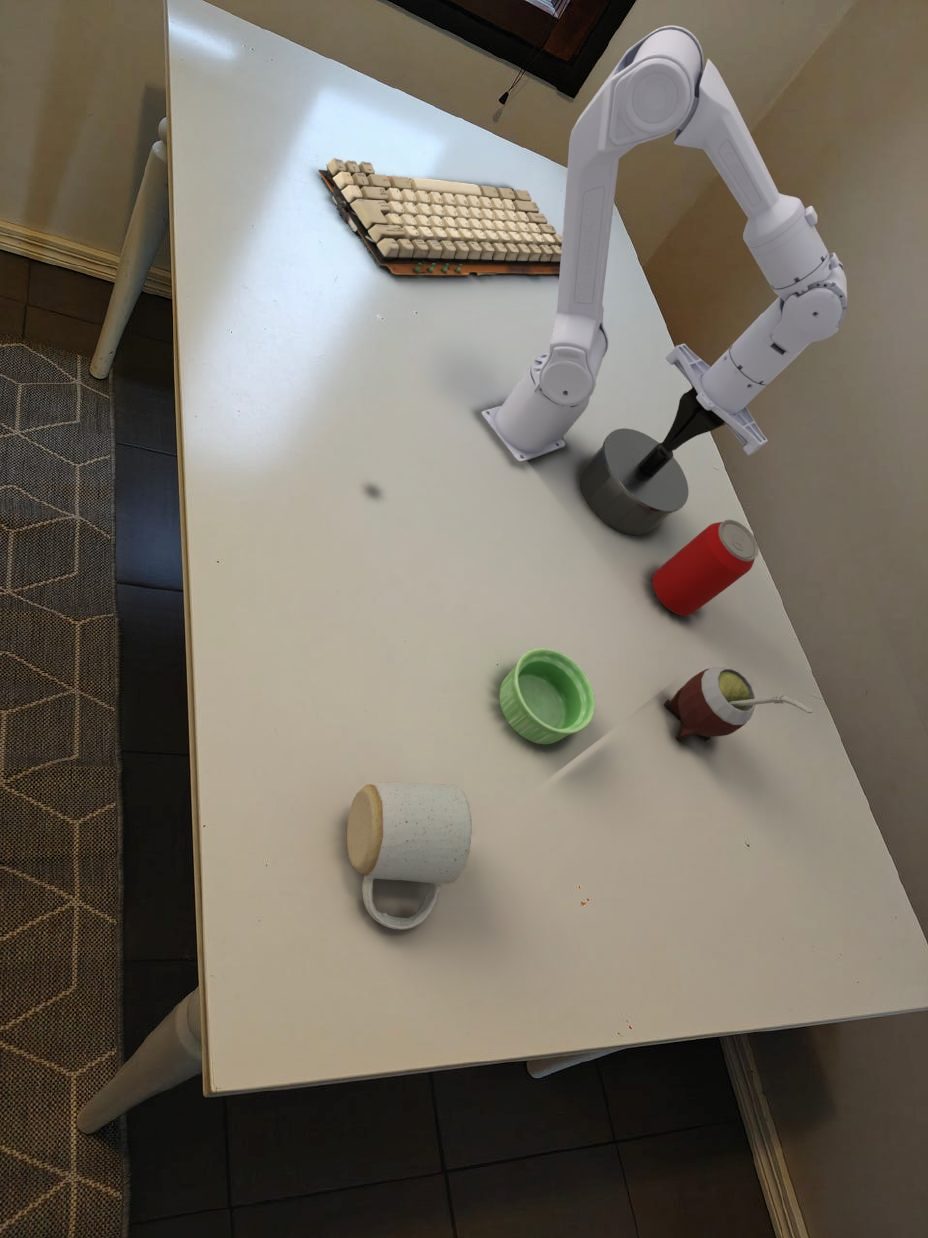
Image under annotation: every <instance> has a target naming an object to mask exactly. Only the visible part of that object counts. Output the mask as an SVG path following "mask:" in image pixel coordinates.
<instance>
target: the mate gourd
mask: <svg viewBox="0 0 928 1238" xmlns="http://www.w3.org/2000/svg"><path fill="white" fill-rule="evenodd" d="M771 703H773V704H784V703H786V704H789V705H792V706H794V707H796V708H797V709H800V710H802V711H803V712H806V713H808V714H813V712H814V710H812V709H811V708H809V707H807V706H806V705H804V704H802V703H800V702H799V701H798V700H795V699H793V698H790V697H788V696H785V695H782V694H774V695H773V696H767V697H761V698H756V694H755V691H754V688H753V686H752V685H751V683H750V682H749V681H748V679H747V677H745V675H743V673H741V672H740V671H738V670H736V669H734V668H732V667H729V666H712V667H709V668H705V669H704V670H702V671H700V672H698V673H697V674H695V675H693V676H692V677H691V678H690V679H689V680H688V681H686V683H685V684H684V685H683V686H682V687H681V688H680V689H678V690H677V691H676V693H675V694H674V695H673V697H672V698H671V700H670V699H667V700H666V701H665V702H664V704H663V706H664V708H666V709H667V710H668V711H669V712H670V713H672V714H673V715H674V716H675V717H676V718H677V719H678V720H680V725H679V728H678V730H677V732H676V735H675V739H676V741H678V742H679V743H682V742H684V740H685V739H686V737H688V736H692V735H694V734H695V735H697V736H699V737H700V738H701V739H702V740H703V741H704V742H707V741H709V740H711V738H713V737H725V736H729V735H731V734H733V733H735V732H737V731H738V730H739V729H741V728H742V727H744V726H745V725H746V724H747V722H749V721H750V720H751V719H752V716H753V714H754V710H755V708H756V705H763V704H771Z"/></svg>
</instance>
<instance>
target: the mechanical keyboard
mask: <svg viewBox="0 0 928 1238" xmlns="http://www.w3.org/2000/svg"><path fill="white" fill-rule="evenodd" d="M325 166H326V169H318V170H317V172H318V173H319V175H320V176H321V178H322V179H323V180H324V182H325V183H326V185H327V187H328V188H329V190H330V191H331V193H332V197H331V199H332V201H333V202H334V204H335V205H336V206H337V207H336V210H337V211H340V213H341V215H342V218H343V221H344V222H347V223H348V225H349V227H350V229H351V230H352V232H357V233H358V234H359V235H360V237H361V238H362V240H363V242H364V243H365V246H367V248H368V250H370V252H371V254H372V255H373V257H374V258H375V261H376V262H377V263H378V264H379V266H384V267H387V268H388V269H389V270H390V272H391V273H392V274H393V275H403V276H404V275H405V276H407V275H408V276H470V273H476V275H477V276H478V277H479V276H482V275H497V274H518V275H531V276H536V275H547V276H549V275H557V276H558V275H559V276H560V263H561V249H562V236H563V235H561V234H557V230H556V229H555V227H554V225H552V224H551V223H548V222H549V221H548V219H547V217H546V215H545V214H544V213H540V208H539V206H538V203H537V202H535V201H532V197H531V194H530V192H529V191H528V190H525V189H517V188H516V189H514V188H511V187H498V188H496V187H494V186H492V185H491V186H489V185H478V184H475V183H467V182H459V181H451V180H443V179H433V178H421V177H412V178H409V177H407V176H399V175H391V176H389V175H385V174H376V173H375V172H376V171H375V169H374V166H373V164H372V163H371V162H370V161H364V160H362V161H361V162H360V163H359V164H358V162H357V161H356V160H351V159H347V160H345V162H344V160H343V159H340V158H336V157H333V158H332V159H330V160H329V162H328V163H326V164H325Z"/></svg>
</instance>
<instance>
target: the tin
mask: <svg viewBox="0 0 928 1238" xmlns="http://www.w3.org/2000/svg"><path fill="white" fill-rule="evenodd" d="M602 447H603V445H602V446H601V447H600V448H599V449H598V450H597V452H596V453H594V454H593V456H592V457H591V458H590V459H589V460H588V462H587V463H586V464H585V465H584V467H583V469H582V470H581V473H580V479H579V481H580V482H579V483H580V489H581V492H582V495H583V497H584V499H585V501H586V503H587V504H588V506H589V507H590V509H591V510H592V511H593V512H594V513H595V514H596V516H597V517H599V519H601V520H602V522H604V523H605V524H607V525H608V526H610V527H611V528H613V529H614V530H616V531H619V532H620V533H623V534H626V535H630V536H641V535H646V534H647V533H649V532H650V531H652V530H653V529H655V528H656V527H657V526H659V524H660V523H662V522H663V520H665V519H666V518H667V517H668V516H669V515H670V514H671V513H659V512H655V511H652V510H650V509H647V508H645V507H643V506H642V505H640V504H638V503H637V502H635V501H634V500H632V499H631V498H630V497H629V496H628V495H626V494H625V493H624V492H623V491H622V490H621V489H620V487H619V486H618V485H617V484H616V483H615V481H614V480H613V478H612V477H611V475H610V474H609V472H608V470H607V468H606V465H605V463H604V459H603V453H602Z"/></svg>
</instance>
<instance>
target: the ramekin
mask: <svg viewBox="0 0 928 1238" xmlns="http://www.w3.org/2000/svg"><path fill="white" fill-rule="evenodd" d="M499 704H500V708H501V711H502V714H503V717H504V718H505V719H506V721H507V724H508V725H510V727H511V728H512V729H513V730H514V731H515V732H516V733H517V734H518V735H519V736H520V737H522V738H524V739H526V740H527V741H529V742H532V743H534V744H539V745H550V744H551V745H552V744H554V743H557V742H559V741H561V740H562V739H564V738H566V737H567V736H570V735H574V734H576V733H579V732H581V731H583V730H584V729H585V728H587V726H588V725H589V724H590V723H591V721H592V719H593V717H594V714H595V709H596V699H595V693H594V689H593V686H592V683H591V682H590V680H589V678H588V676H587V675H586V673H585V671H584V670H583V669H582V668H581V666H580V665H579V664H578V663H577V662H576V661H575V660H573V659H572V658H571V657H569V656H568V655H566V654H565V653H563V652H560V651H558V650H556V649H552V648H545V647H539V648H534V649H529V651H527V652H525V653H524V654H523V655H522V656H521V657H520V658H519V659H518V660H517V662H516V663H515V665H514V667H513V668H512V669H511V671H510V672H509V673H507V675H506V676H505V678H504V679H503V681H502V683H501V685H500V688H499Z"/></svg>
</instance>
